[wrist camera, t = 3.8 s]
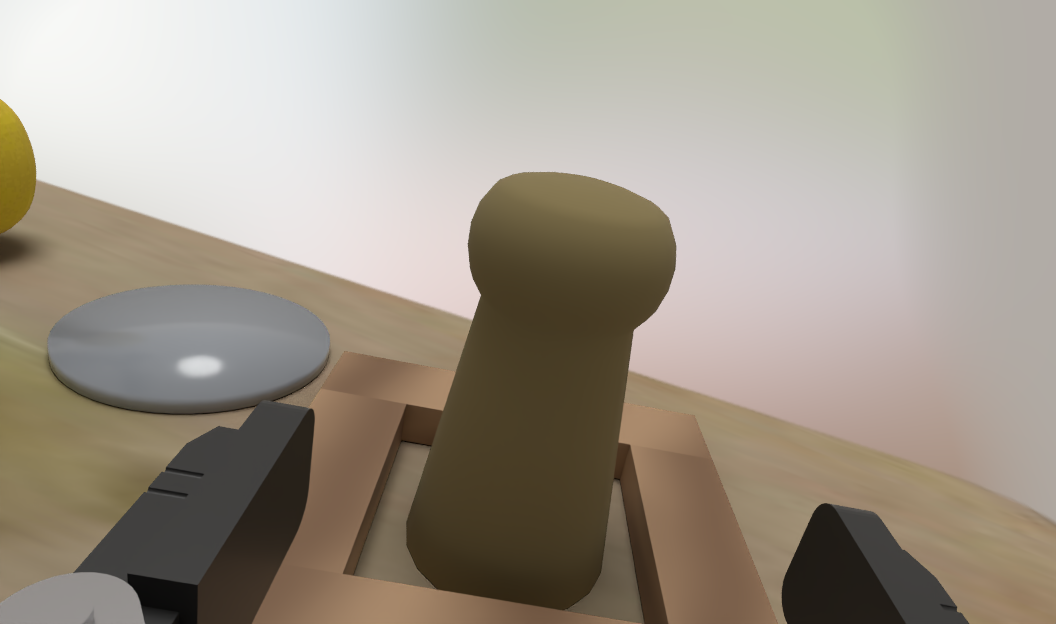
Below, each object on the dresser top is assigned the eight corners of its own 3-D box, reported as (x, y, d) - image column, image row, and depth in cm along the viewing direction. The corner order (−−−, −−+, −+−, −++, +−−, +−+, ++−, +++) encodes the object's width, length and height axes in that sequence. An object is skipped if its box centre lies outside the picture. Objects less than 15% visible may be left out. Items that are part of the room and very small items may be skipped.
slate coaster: (-24, 382, 22) (-26, 366, 22) (143, 281, 31) (143, 269, 31) (278, 435, 23) (279, 420, 22) (355, 321, 32) (356, 309, 32)
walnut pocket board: (146, 715, 14) (144, 662, 13) (341, 384, 26) (344, 351, 26) (811, 817, 14) (837, 771, 14) (683, 447, 27) (694, 415, 27)
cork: (615, 631, 18) (744, 240, 14) (388, 600, 17) (452, 184, 13) (592, 489, 23) (679, 181, 19) (420, 462, 23) (472, 139, 19)
